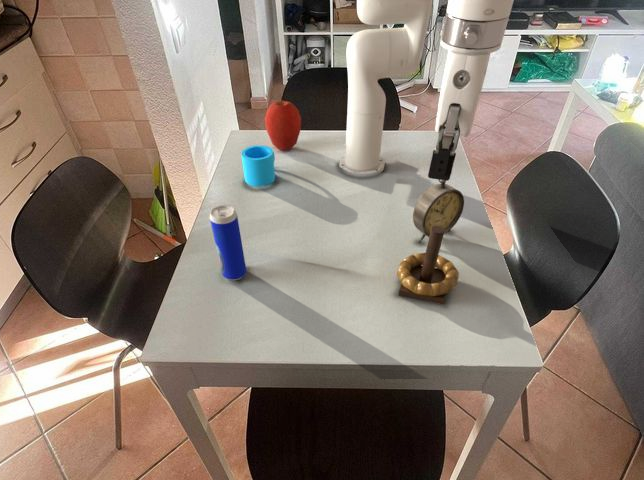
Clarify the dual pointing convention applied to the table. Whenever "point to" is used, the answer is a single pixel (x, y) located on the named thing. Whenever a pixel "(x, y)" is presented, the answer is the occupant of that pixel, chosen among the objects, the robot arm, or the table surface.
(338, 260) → the table surface
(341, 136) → the table surface
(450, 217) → the alarm clock
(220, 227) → the beverage can
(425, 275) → the stand
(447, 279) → the ring
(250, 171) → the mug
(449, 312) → the table surface
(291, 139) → the apple
